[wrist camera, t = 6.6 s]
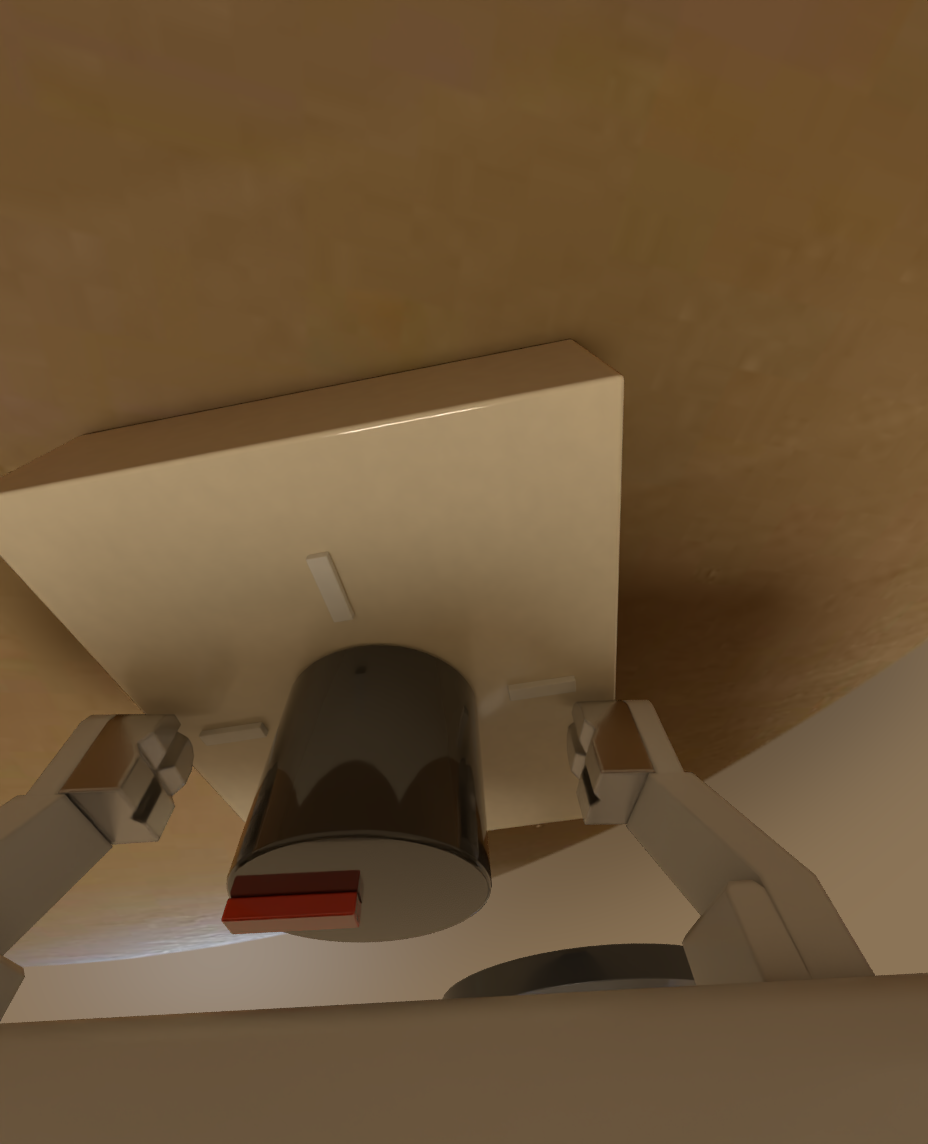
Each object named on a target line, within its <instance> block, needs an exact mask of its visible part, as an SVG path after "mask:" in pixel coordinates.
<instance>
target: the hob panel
mask: <svg viewBox="0 0 928 1144" xmlns="http://www.w3.org/2000/svg"><path fill="white" fill-rule="evenodd" d="M623 411H624V377H623V375H622V374H620V373H619V372H618V371H616V370H615V369H613V368H612V367H611V366H609V365H608V364H606V363H605V362H604V361H602V360H601V359H599V358H598V357H597V356H595V355H594V354H592V353H591V352H590V351H588V350H587V349H585V348H584V347H583V346H581V345H580V344H578V343H577V342H576V341H574V340H571V339H569V340H564V341H559V342H554V343H549V344H544V345H539V346H534V347H528V348H523V349H518V350H513V351H508V352H503V353H498V354H493V355H488V356H483V357H478V358H473V359H468V360H462V361H457V362H452V363H447V364H442V365H437V366H432V367H427V368H422V369H417V370H412V371H407V372H401V373H396V374H391V375H386V376H381V377H376V378H371V379H366V380H361V381H356V382H351V383H346V384H341V385H335V386H330V387H325V388H320V389H315V390H310V391H305V392H300V393H295V394H290V395H285V396H280V397H274V398H269V399H264V400H259V401H254V402H249V403H244V404H239V405H234V406H229V407H224V408H219V409H214V410H208V411H203V412H198V413H193V414H188V415H183V416H178V417H173V418H168V419H163V420H158V421H153V422H147V423H142V424H137V425H132V426H127V427H122V428H117V429H112V430H107V431H102V432H97V433H92V434H87V435H81V436H78V437H76V438H74V439H72V440H70V441H68V442H67V443H65V444H63V445H61V446H59V447H57V448H55V449H53V450H51V451H50V452H48V453H46V454H44V455H42V456H40V457H38V458H36V459H34V460H33V461H31V462H29V463H27V464H25V465H23V466H21V467H19V468H17V469H16V470H14V471H12V472H10V473H8V474H6V475H4V476H2V477H0V556H1V557H2V559H3V560H4V561H5V562H6V563H7V564H8V565H9V566H10V567H11V568H12V569H13V571H14V572H15V573H16V574H17V575H18V576H19V577H20V578H21V579H22V580H23V581H24V583H25V584H26V585H27V586H28V587H29V588H30V589H31V590H32V591H33V592H34V593H35V595H36V596H37V597H38V598H39V599H40V600H41V601H42V602H43V603H44V604H45V605H46V607H47V608H48V609H49V610H50V611H51V612H52V613H53V614H54V615H55V616H56V617H57V619H58V620H59V621H60V622H61V623H62V624H63V625H64V626H65V627H66V628H67V629H68V630H69V632H70V633H71V634H72V635H73V636H74V637H75V638H76V639H77V640H78V641H79V642H80V644H81V645H82V646H83V647H84V648H85V649H86V650H87V651H88V652H89V653H90V654H91V656H92V657H93V658H94V659H95V660H96V661H97V662H98V663H99V664H100V665H101V666H102V668H103V669H104V670H105V671H106V672H107V673H108V674H109V675H110V676H111V677H112V678H113V680H114V681H115V682H116V683H117V684H118V685H119V686H120V687H121V688H122V689H123V690H124V692H125V693H126V694H127V695H128V696H129V697H130V698H131V699H132V700H133V701H134V702H135V704H136V705H137V706H138V707H139V708H140V709H141V710H142V711H143V712H144V713H145V714H175V716H176V717H177V719H178V720H179V722H180V723H181V725H180V727H179V729H178V732H179V733H181V734H183V735H184V736H186V737H188V738H189V740H190V742H191V743H192V745H193V752H194V759H193V765H192V766H193V767H194V768H195V769H196V770H197V771H198V772H199V773H200V774H201V776H202V777H203V778H204V779H205V780H206V781H207V782H208V783H209V784H210V785H211V786H212V788H213V789H214V790H215V791H216V792H217V793H218V794H219V795H220V796H221V797H222V798H223V800H224V801H225V802H226V803H227V804H228V805H229V806H230V807H231V808H232V809H233V810H234V812H235V813H236V814H237V815H238V816H239V817H240V818H241V819H242V820H243V821H244V822H245V823H246V820H247V817H248V814H249V811H250V808H251V805H252V802H253V799H254V796H255V793H256V790H257V787H258V784H259V781H260V778H261V775H262V772H263V769H264V766H265V763H266V760H267V757H268V754H269V751H270V748H271V745H272V743H273V740H274V737H275V734H276V731H277V728H278V725H279V722H280V719H281V716H282V713H283V710H284V707H285V704H286V701H287V698H288V695H289V692H290V690H291V687H292V685H293V683H294V682H295V680H296V679H297V677H298V676H299V675H300V674H301V673H302V672H303V671H304V670H305V669H306V668H307V667H308V666H310V665H311V664H312V663H314V662H315V661H317V660H319V659H320V658H322V657H324V656H326V655H329V654H331V653H334V652H336V651H340V650H343V649H347V648H352V647H357V646H366V645H392V646H401V647H406V648H411V649H415V650H418V651H422V652H425V653H428V654H430V655H432V656H435V657H437V658H439V659H441V660H443V661H444V662H446V663H448V664H449V665H451V666H452V667H453V668H455V669H456V670H457V671H458V672H459V673H460V674H461V675H462V676H463V677H464V678H465V679H466V681H467V682H468V683H469V685H470V686H471V688H472V690H473V692H474V694H475V697H476V700H477V709H478V721H479V733H480V746H481V758H482V770H483V783H484V795H485V807H486V820H487V831H488V830H496V829H504V828H512V827H519V826H527V825H535V824H543V823H550V822H558V821H566V820H574V819H581V818H583V817H582V813H581V809H580V805H579V801H578V797H577V793H576V791H577V787H578V783H579V779H578V778H577V777H576V776H575V775H574V774H573V773H572V772H571V769H570V765H569V761H568V755H567V731H568V726H569V725H571V724H572V723H573V722H574V721H573V717H572V709H573V705H574V704H575V703H576V702H582V701H606V700H615V693H616V658H617V623H618V587H619V552H620V517H621V482H622V446H623Z"/></svg>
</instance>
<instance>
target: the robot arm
mask: <svg viewBox="0 0 928 1144" xmlns="http://www.w3.org/2000/svg"><path fill="white" fill-rule="evenodd" d="M572 717H573V721H574V722H573V723H572V724H571V725H569V726H568V731H567V755H568V761H569V765H570V769H571V772H572V773H573V774H574V775H575V776H576V777H577V778H578V779H579V783H578V787H577V791H576V793H577V797H578V801H579V805H580V809H581V813H582V817H583V821H584V824H585V825H591V824H627V825H626V826H627V828H628V829H629V830H630V832H631V833H632V834H633V835H634V836H635V838H636V839H637V840H638V841H639V842H640V844H641V845H642V846H643V847H644V848H645V850H646V851H647V852H648V853H649V854H650V855H651V857H652V858H653V859H654V860H655V861H656V863H657V864H658V865H659V866H660V867H661V869H662V870H663V871H664V872H665V873H666V875H668V877H669V878H670V879H671V880H672V882H673V883H674V884H675V885H676V886H677V888H678V889H679V890H680V891H681V892H682V893H683V895H684V896H685V897H686V898H687V900H688V901H689V902H690V903H691V904H692V906H694V908H695V909H696V910H697V912H698V913H699V914H700V915H701V917H700V918H699V919H698V920H697V922H696V923H695V924H694V925H693V927H692V928H691V929H690V930H689V932H688V933H687V934H686V936H685V938H684V940H683V942H682V944H683V947H684V950H685V953H686V956H687V959H688V962H689V965H690V968H691V971H692V974H693V977H694V980H695V983H696V986H678V987H660V988H642V989H623V990H605V991H587V992H569V993H550V994H532V995H514V996H495V997H477V998H459V999H442V1000H424V1001H423V1000H422V1001H405V1002H386V1003H368V1004H350V1005H331V1006H315V1007H314V1006H313V1007H295V1008H277V1009H258V1010H241V1011H221V1012H203V1013H185V1014H167V1015H149V1016H130V1017H113V1018H94V1019H77V1020H57V1021H39V1022H22V1023H2V1024H0V1144H928V973H917V974H897V975H879V976H875V974H874V973H873V971H872V969H871V968H870V966H869V964H868V963H867V961H866V959H865V958H864V956H863V954H862V953H861V951H860V950H859V948H858V946H857V944H856V942H855V941H854V939H853V937H852V936H851V934H850V933H849V931H848V929H847V927H846V926H845V924H844V922H843V921H842V919H841V917H840V916H839V914H838V912H837V911H836V909H835V907H834V906H833V904H832V903H831V900H830V899H829V897H828V896H827V894H826V892H825V890H824V889H823V887H822V886H821V884H820V882H819V880H818V879H817V877H816V875H814V874H813V873H812V872H811V871H810V870H808V869H807V868H806V867H805V866H804V865H803V864H801V863H800V862H799V861H798V860H797V859H795V858H794V857H793V856H792V855H790V854H789V853H788V852H787V851H785V849H783V848H782V847H781V846H780V845H779V844H777V843H776V842H775V841H774V840H772V839H771V838H770V837H769V836H768V835H767V834H765V833H764V832H763V831H762V830H760V829H759V828H758V827H757V826H756V825H755V824H753V823H752V822H751V821H750V820H749V819H747V818H746V817H745V816H744V815H742V814H741V813H740V812H739V811H738V810H737V809H735V808H734V807H733V806H732V805H731V804H729V803H728V802H727V801H726V800H725V799H723V798H722V797H721V796H720V795H719V794H717V793H716V792H715V791H714V790H713V789H711V788H710V787H709V786H708V785H707V784H706V783H704V782H703V781H702V780H701V779H700V778H698V777H697V776H696V775H695V774H694V773H692V772H684V770H683V768H682V766H681V764H680V762H679V760H678V758H677V755H676V753H675V751H674V749H673V747H672V745H671V743H670V741H669V738H668V736H667V734H666V732H665V730H664V728H663V726H662V724H661V722H660V719H659V717H658V715H657V713H656V711H655V709H654V707H653V705H652V703H651V702H650V701H649V700H624V701H622V700H606V701H582V702H576V703H575V704H574V705H573V709H572ZM180 725H181V723H180V722H179V720H178V719H177V717H176V716H175V714H113V715H91V716H89V717H88V718H86V719H85V720H83V721H82V722H81V723H80V724H79V725H78V727H77V728H76V729H75V731H74V732H73V733H72V735H71V736H70V737H69V739H68V740H67V741H66V743H65V744H64V745H63V747H62V748H61V749H60V750H59V752H58V753H57V754H56V756H55V757H54V758H53V760H52V761H51V762H50V764H49V765H48V766H47V768H46V769H45V770H44V772H43V773H42V774H41V776H40V777H39V778H38V779H37V781H36V782H35V783H34V785H33V786H32V787H31V789H30V790H29V791H28V793H27V794H26V795H18V796H16V797H14V798H13V799H11V800H10V801H8V802H7V803H5V804H4V805H3V806H1V807H0V1021H1V1019H2V1017H3V1015H4V1013H5V1012H6V1010H7V1008H8V1006H9V1004H10V1003H11V1001H12V999H13V997H14V995H15V994H16V992H17V990H18V988H19V986H20V985H21V983H22V981H23V979H24V977H25V975H24V969H23V968H22V967H21V966H19V965H17V964H16V963H14V962H12V961H10V960H9V959H7V958H5V957H4V956H3V955H4V954H5V953H6V952H7V951H8V950H9V949H10V948H11V947H12V946H13V945H14V944H15V943H16V942H17V941H18V940H19V939H20V938H21V937H22V936H23V935H24V934H25V933H26V932H27V931H28V930H29V929H30V928H31V927H32V926H33V925H34V924H35V923H36V922H37V921H38V920H39V919H40V918H41V917H42V916H43V915H44V914H45V913H46V912H47V911H48V910H49V909H50V908H51V907H52V906H53V905H54V904H56V903H57V902H58V901H59V900H60V899H61V898H62V897H63V896H64V895H65V894H66V893H67V892H68V891H69V890H70V889H71V888H72V887H73V886H74V885H75V884H76V883H77V882H78V881H79V880H80V879H81V878H82V877H83V876H84V875H85V874H86V873H87V872H88V871H89V870H90V869H91V868H92V867H93V866H94V865H95V864H96V863H97V862H98V861H99V860H100V859H101V858H102V857H103V856H104V855H105V854H106V853H107V852H108V851H109V850H110V849H111V848H112V845H111V844H126V843H141V842H156V841H159V839H160V837H161V835H162V833H163V830H164V828H165V826H166V824H167V822H168V820H169V818H170V816H171V814H172V812H173V809H174V807H175V805H174V802H173V798H172V796H173V795H174V794H175V793H176V792H177V791H178V790H180V789H181V788H182V787H183V786H184V785H185V784H186V782H187V779H188V777H189V775H190V773H191V770H192V765H193V759H194V752H193V745H192V743H191V742H190V740H189V738H188V737H186V736H184V735H183V734H181V733H179V732H178V729H179V727H180Z"/></svg>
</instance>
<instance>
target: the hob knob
mask: <svg viewBox="0 0 928 1144" xmlns="http://www.w3.org/2000/svg"><path fill="white" fill-rule="evenodd" d="M491 887H492V882H491V869H490V857H489V844H488V832H487V820H486V807H485V795H484V783H483V770H482V758H481V746H480V733H479V721H478V709H477V700H476V697H475V694H474V692H473V690H472V688H471V686H470V685H469V683H468V682H467V681H466V679H465V678H464V677H463V676H462V675H461V674H460V673H459V672H458V671H457V670H456V669H455V668H453V667H452V666H451V665H449V664H448V663H446V662H444V661H443V660H441V659H439V658H437V657H435V656H432V655H430V654H428V653H425V652H422V651H418V650H415V649H411V648H406V647H401V646H392V645H366V646H357V647H352V648H347V649H343V650H340V651H336V652H334V653H331V654H329V655H326V656H324V657H322V658H320V659H319V660H317V661H315V662H314V663H312V664H311V665H310V666H308V667H307V668H306V669H305V670H304V671H303V672H302V673H301V674H300V675H299V676H298V677H297V679H296V680H295V682H294V683H293V685H292V687H291V690H290V692H289V695H288V698H287V701H286V704H285V707H284V710H283V713H282V716H281V719H280V722H279V725H278V728H277V731H276V734H275V737H274V740H273V743H272V745H271V748H270V751H269V754H268V757H267V760H266V763H265V766H264V769H263V772H262V775H261V778H260V781H259V784H258V787H257V790H256V793H255V796H254V799H253V802H252V805H251V808H250V811H249V814H248V817H247V820H246V823H245V826H244V829H243V832H242V835H241V838H240V841H239V844H238V847H237V850H236V853H235V855H234V858H233V861H232V864H231V867H230V870H229V873H228V876H227V892H228V896H229V899H228V901H227V904H226V907H225V910H224V913H223V916H222V922H223V924H224V925H225V926H226V927H227V928H228V930H229V931H230V932H231V933H232V934H246V933H265V932H285V933H289V934H292V935H297V936H301V937H307V938H312V939H318V940H327V941H338V942H382V941H393V940H401V939H408V938H413V937H419V936H423V935H427V934H431V933H435V932H437V931H441V930H444V929H447V928H449V927H452V926H454V925H457V924H459V923H461V922H463V921H465V920H466V919H468V918H469V917H471V916H473V915H474V914H475V913H476V912H478V911H479V910H480V909H481V908H482V907H483V905H485V903H486V902H487V900H488V898H489V896H490V892H491Z"/></svg>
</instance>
